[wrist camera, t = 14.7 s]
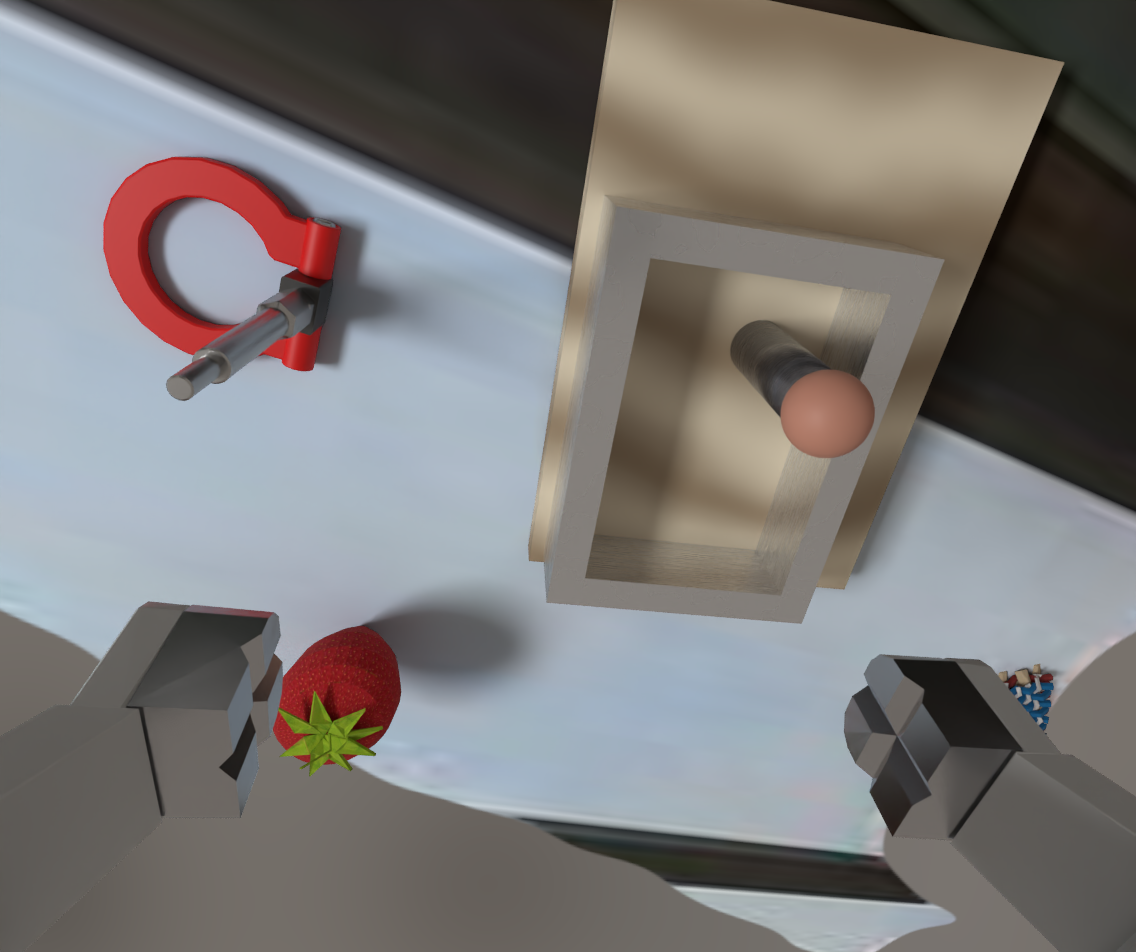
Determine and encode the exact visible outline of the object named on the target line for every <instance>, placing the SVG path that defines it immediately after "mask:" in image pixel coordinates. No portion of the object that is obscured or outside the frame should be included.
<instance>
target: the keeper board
mask: <svg viewBox="0 0 1136 952" xmlns="http://www.w3.org/2000/svg"><path fill="white" fill-rule="evenodd" d="M1063 65H1064V62H1060V61H1055V60H1050V59H1046V58H1041V57H1036V56H1031V55H1027V54H1022V53H1017V52H1012V51H1008V50H1003V49H998V48H993V47H988V46H984V45H979V44H974V43H969V42H965V41H960V40H955V39H950V38H946V37H941V36H936V35H931V34H927V33H922V32H917V31H912V30H907V29H903V28H898V27H893V26H888V25H884V24H879V23H874V22H869V21H865V20H860V19H855V18H850V17H845V16H841V15H836V14H831V13H826V12H822V11H817V10H812V9H807V8H803V7H798V6H793V5H788V4H783V3H779V2H774V1H769V0H613V6H612V13H611V19H610V26H609V32H608V38H607V45H606V51H605V58H604V64H603V71H602V77H601V83H600V90H599V96H598V103H597V109H596V115H595V122H594V128H593V135H592V141H591V147H590V154H589V160H588V167H587V173H586V179H585V186H584V192H583V199H582V205H581V211H580V218H579V224H578V231H577V237H576V243H575V250H574V256H573V263H572V269H571V275H570V282H569V288H568V295H567V301H566V307H565V314H564V320H563V327H562V333H561V339H560V346H559V352H558V359H557V365H556V371H555V378H554V384H553V391H552V397H551V403H550V410H549V416H548V423H547V429H546V435H545V442H544V448H543V455H542V461H541V467H540V474H539V480H538V487H537V493H536V499H535V506H534V512H533V519H532V525H531V531H530V538H529V544H528V550H529V561H537V562H544V557H543V555H544V549H545V543H546V537H547V531H548V525H549V519H550V513H551V507H552V501H553V495H554V489H555V483H556V477H557V472H558V466H559V460H560V454H561V448H562V442H563V436H564V430H565V424H566V418H567V412H568V406H569V400H570V394H571V389H572V383H573V377H574V371H575V365H576V359H577V353H578V347H579V341H580V335H581V329H582V323H583V317H584V311H585V306H586V300H587V294H588V288H589V282H590V276H591V270H592V264H593V258H594V252H595V246H596V240H597V234H598V228H599V223H600V217H601V211H602V205H603V199H604V195H608V196H614V197H621V198H627V199H633V200H639V201H645V202H651V203H657V204H663V205H669V206H675V207H681V208H688V209H694V210H700V211H706V212H712V213H718V214H724V215H730V216H736V217H742V218H749V219H755V220H761V221H767V222H773V223H779V224H785V225H791V226H797V227H803V228H810V229H816V230H822V231H828V232H834V233H840V234H846V235H852V236H858V237H864V238H870V239H877V240H883V241H889V242H895V243H898V244H901V245H903V246H906V247H909V248H912V249H915V250H918V251H921V252H924V253H927V254H930V255H933V256H936V257H939V258H942V259H945V260H944V263H943V265H942V268H941V270H940V273H939V275H938V278H937V280H936V283H935V286H934V288H933V291H932V293H931V296H930V298H929V301H928V303H927V306H926V308H925V311H924V314H923V316H922V319H921V321H920V324H919V326H918V329H917V331H916V334H915V336H914V339H913V342H912V344H911V347H910V349H909V352H908V354H907V357H906V359H905V362H904V364H903V367H902V369H901V372H900V375H899V377H898V380H897V382H896V385H895V387H894V390H893V392H892V395H891V397H890V400H889V403H888V405H887V408H886V410H885V413H884V415H883V418H882V420H881V423H880V425H879V428H878V430H877V433H876V436H875V438H874V441H873V443H872V446H871V448H870V451H869V453H868V456H867V458H866V461H865V464H864V466H863V469H862V471H861V474H860V476H859V479H858V481H857V484H856V486H855V489H854V491H853V494H852V497H851V499H850V502H849V504H848V507H847V509H846V512H845V514H844V517H843V519H842V522H841V525H840V527H839V530H838V532H837V535H836V537H835V540H834V542H833V545H832V547H831V550H830V552H829V555H828V558H827V560H826V563H825V565H824V568H823V570H822V573H821V575H820V578H819V580H818V583H817V586H816V587H822V588H833V589H845V586H846V584H847V582H848V579H849V577H850V574H851V572H852V570H853V567H854V565H855V562H856V560H857V558H858V555H859V553H860V551H861V548H862V546H863V543H864V541H865V539H866V536H867V534H868V531H869V529H870V527H871V524H872V522H873V519H874V517H875V515H876V512H877V510H878V507H879V505H880V503H881V500H882V498H883V495H884V493H885V491H886V488H887V486H888V483H889V481H890V479H891V476H892V474H893V471H894V469H895V467H896V464H897V462H898V460H899V457H900V455H901V452H902V450H903V448H904V445H905V443H906V440H907V438H908V436H909V433H910V431H911V428H912V426H913V424H914V421H915V419H916V416H917V414H918V412H919V409H920V407H921V404H922V402H923V400H924V397H925V395H926V392H927V390H928V388H929V385H930V383H931V381H932V378H933V376H934V373H935V371H936V369H937V366H938V364H939V361H940V359H941V357H942V354H943V352H944V349H945V347H946V345H947V342H948V340H949V337H950V335H951V333H952V330H953V328H954V325H955V323H956V321H957V318H958V316H959V313H960V311H961V309H962V306H963V304H964V302H965V299H966V297H967V294H968V292H969V290H970V287H971V285H972V282H973V280H974V278H975V275H976V273H977V270H978V268H979V266H980V263H981V261H982V258H983V256H984V254H985V251H986V249H987V246H988V244H989V242H990V239H991V237H992V234H993V232H994V230H995V227H996V225H997V223H998V220H999V218H1000V215H1001V213H1002V211H1003V208H1004V206H1005V203H1006V201H1007V199H1008V196H1009V194H1010V191H1011V189H1012V187H1013V184H1014V182H1015V179H1016V177H1017V175H1018V172H1019V170H1020V167H1021V165H1022V163H1023V160H1024V158H1025V155H1026V153H1027V151H1028V148H1029V146H1030V144H1031V141H1032V139H1033V136H1034V134H1035V132H1036V129H1037V127H1038V124H1039V122H1040V120H1041V117H1042V115H1043V112H1044V110H1045V108H1046V105H1047V103H1048V100H1049V98H1050V96H1051V93H1052V91H1053V88H1054V86H1055V84H1056V81H1057V79H1058V76H1059V74H1060V72H1061V69H1062V67H1063ZM842 291H843V287H836V286H830V285H823V284H817V283H810V282H804V281H797V280H790V279H784V278H777V277H771V276H764V275H758V274H751V273H745V272H738V271H732V270H725V269H719V268H712V267H705V266H699V265H692V264H686V263H679V262H673V261H666V260H660V259H653V258H650V263H649V268H648V273H647V278H646V283H645V287H644V292H643V297H642V302H641V307H640V312H639V317H638V322H637V326H636V331H635V336H634V341H633V346H632V351H631V356H630V361H629V365H628V370H627V375H626V380H625V385H624V390H623V395H622V400H621V404H620V409H619V414H618V419H617V424H616V429H615V434H614V439H613V443H612V448H611V453H610V458H609V463H608V468H607V473H606V478H605V482H604V487H603V492H602V497H601V502H600V507H599V512H598V517H597V521H596V526H595V531H594V534H595V535H606V536H616V537H626V538H637V539H647V540H657V541H668V542H678V543H688V544H699V545H709V546H719V547H730V548H740V549H750V550H756V548H757V545H758V542H759V539H760V536H761V533H762V530H763V527H764V524H765V521H766V518H767V515H768V512H769V509H770V506H771V503H772V500H773V497H774V494H775V491H776V488H777V485H778V482H779V479H780V476H781V473H782V470H783V467H784V464H785V461H786V458H787V455H788V452H789V449H790V446H791V443H792V444H793V445H794V446H795V447H796V448H797V449H798V450H800V451H801V452H803V453H805V454H807V455H810V456H813V457H818V458H835V457H839V456H843V455H845V454H847V453H850V452H851V451H853V450H855V449H856V448H857V447H859V446H860V445H861V444H862V443H863V442H864V441H865V439H866V438H867V436H868V435H869V433H870V431H871V429H872V426H873V423H874V418H875V407H874V402H873V399H872V396H871V394H870V392H869V390H868V389H867V387H866V386H865V385H864V384H863V383H862V382H861V381H860V380H859V379H857V378H856V377H854V376H852V375H851V374H849V373H846V372H843V371H839V370H832V369H831V368H830V367H828V366H827V365H826V364H825V363H823V362H822V361H821V360H820V356H821V353H822V350H823V347H824V345H825V342H826V339H827V336H828V333H829V330H830V327H831V324H832V321H833V318H834V315H835V312H836V309H837V306H838V303H839V300H840V297H841V294H842Z"/></svg>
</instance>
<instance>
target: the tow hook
mask: <svg viewBox="0 0 1136 952" xmlns="http://www.w3.org/2000/svg"><path fill="white" fill-rule="evenodd" d="M186 197H196V198H206V199H209V200H212V201H216V202H219V203H222V204H224V205H225V206H227V207H229V208H231V209H232V210H234V211H236V212H237V213H239V214H240V215H241V216H242V217H243V218H244V219H245V220H246V221H248V222H249V223H250V224H251V225H252V226H253V228H254V229H255V230H256V232H257V233H258V235H259V236H260V237H261V239H262V240H263V242H264V244H265V246H266V249H267V251H268V254H269V255H270V256H271V257H272V258H273V259H274V260H276V261H279V262H282V263H285V264H288V265H291V266H294V267H297V269H296V270H294V271H292V272H290V273H288V274H287V275H285V276H283V277H282V278H281V283H280V289H279V293H277V294H276V295H274V296H272V297H270V298H269V299H267V300H265V301H264V302H262V303H260V304H259V305H258V308H257V312H256V314H255V315H253V316H252V317H250V318H249V319H247V320H245V321H244V322H242V323H240V324H236V325H216V324H213V323H209V322H205V321H202V320H199V319H197V318H196V317H194V316H192V315H190V314H188V313H186V312H185V311H183V310H182V309H181V308H180V307H179V306H177V305H176V304H175V303H174V302H173V301H171V299H170V298H169V297H168V296H167V294H166V293H165V292H164V291H163V289H162V288H161V287H160V285H159V283H158V281H157V279H156V277H155V275H154V273H153V271H152V268H151V264H150V260H149V255H148V237H149V233H150V230H151V227H152V225H153V222H154V220H155V219H156V217H157V216H158V215H159V214H160V212H161V211H162V210H163V209H164V208H165V207H167V206H168V205H170V204H171V203H173V202H174V201H176V200H179V199H182V198H186ZM340 232H341V227H340V226H338V225H336V224H335V223H332V222H330V221H328V220H325V219H320V218H311V217H309V218H307V220H306V219H303V218H300V217H297V216H294V215H291V214H290V212H289V211H288V209H287V208H286V206H285V205H284V203H283V202H282V201H281V200H280V199H279V198H278V197H277V196H276V195H275V194H274V193H273V192H271V191H270V190H269V189H268V188H267V187H266V186H265V185H264V184H263V183H262V182H261V181H259V180H258V179H256V178H254V177H252V176H251V175H249V174H247V173H246V172H244V171H242V170H241V169H239V168H237V167H236V166H233V165H230V164H226V163H223V162H220V161H216V160H213V159H210V158H203V157H171V158H168V159H164V160H160V161H157V162H153V163H149V164H146V165H145V166H143V167H142V168H140V169H139V170H137V171H136V172H135V173H133V174H132V175H130V176H129V177H127V178H126V179H125V180H124V182H123V183H122V184H121V186H120V187H119V188H118V190H117V191H116V193H115V194H114V195H113V197H112V198H111V201H110V204H109V207H108V210H107V214H106V217H105V220H104V246H103V249H104V253H105V257H106V261H107V265H108V269H109V273H110V276H111V278H112V280H113V282H114V284H115V286H116V288H117V290H118V292H119V294H120V296H121V297H122V299H123V301H124V303H125V304H126V305H127V306H128V307H129V309H130V310H131V311H132V312H133V313H134V315H135V316H136V317H137V318H138V319H139V321H140V322H141V323H142V324H143V325H144V326H146V327H147V328H148V329H149V330H151V331H152V332H153V333H154V334H156V335H157V336H158V337H159V338H161V339H162V340H163V341H164V342H166V343H168V344H170V345H172V346H174V347H176V348H178V349H180V350H182V351H184V352H186V353H188V354H191V355H194V356H193V359H192V363H191V364H189V365H188V366H186V367H185V368H183V369H182V370H180V371H179V372H177V373H176V374H174V375H173V376H171V377H170V378H169V379H168V380H167V383H166V388H167V391H168V392H169V394H170V395H171V396H172V397H174V398H175V399H178V400H182V401H185V400H189V399H190V398H192V397H193V396H194V395H196V394H197V393H198V392H200V391H201V390H202V389H204V388H205V387H206V386H208V385H209V384H210V383H213V384H220V383H223V382H225V381H226V380H227V379H229V378H230V377H231V376H233V375H234V374H235V373H236V372H238V371H239V370H240V369H242V368H243V367H244V366H245V365H247V364H248V363H249V362H251V361H252V360H253V359H254V358H256V357H257V356H261V355H263V354H266V355H269V356H272V357H275V358H279V359H282V363H283V364H284V365H285V366H286V367H288V368H291V369H294V370H298V371H311V370H313V368H314V364H315V358H316V353H317V348H318V343H319V338H320V333H321V328H322V325H323V324H324V323H325V320H326V315H327V310H328V305H329V300H330V295H331V290H332V285H333V279H332V273H333V268H334V263H335V258H336V253H337V248H338V242H339V237H340Z"/></svg>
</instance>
